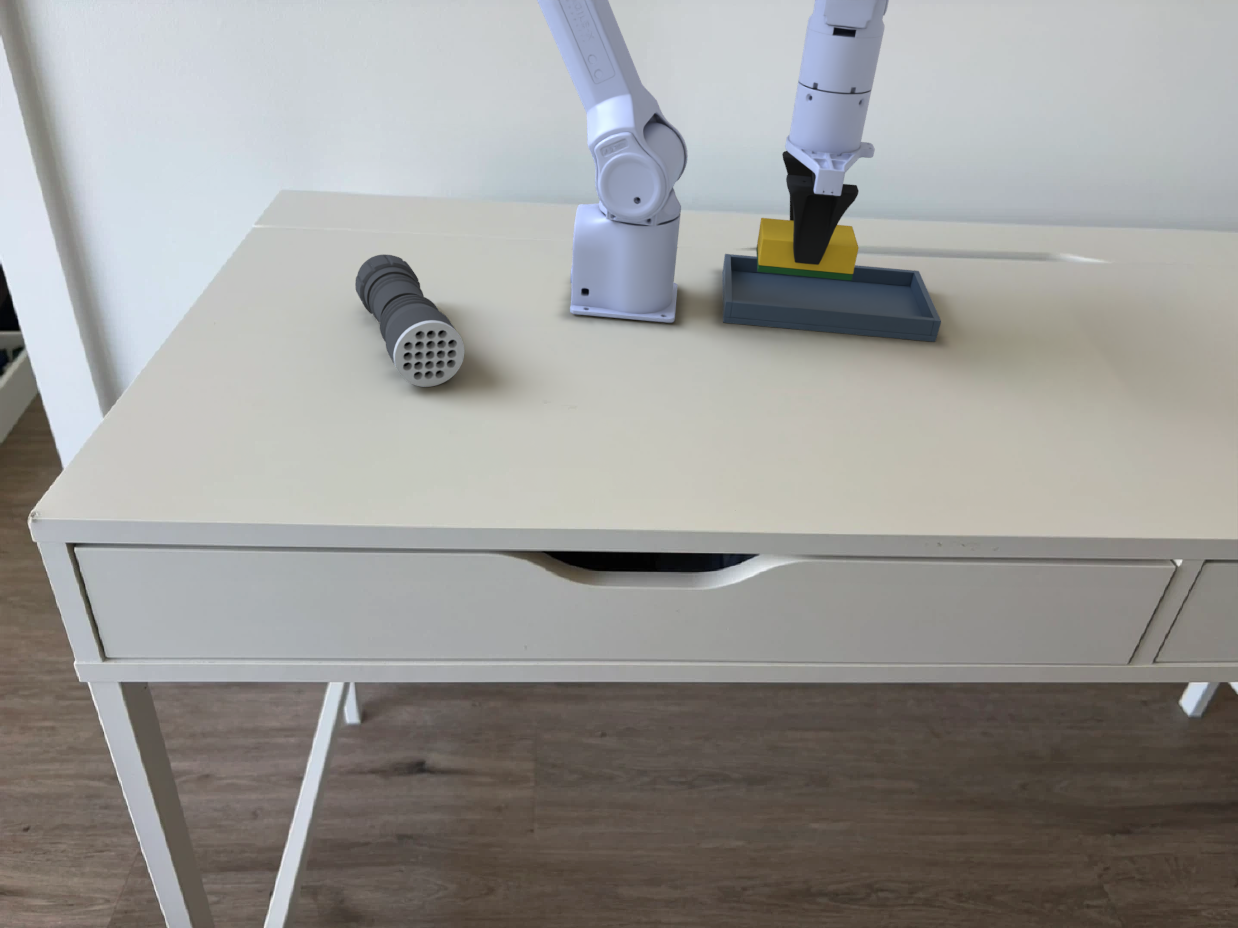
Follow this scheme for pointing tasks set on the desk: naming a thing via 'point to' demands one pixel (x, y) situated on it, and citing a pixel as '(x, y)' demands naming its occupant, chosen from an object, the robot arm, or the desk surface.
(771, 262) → the sponge
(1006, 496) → the desk surface
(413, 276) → the flashlight
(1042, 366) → the desk surface
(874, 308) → the tray
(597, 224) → the robot arm
